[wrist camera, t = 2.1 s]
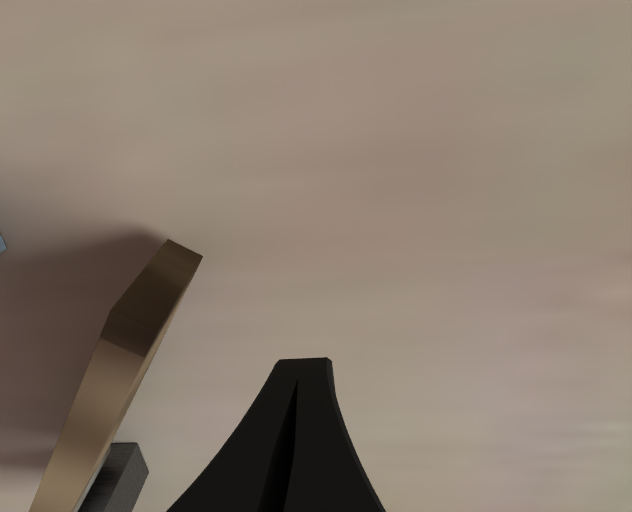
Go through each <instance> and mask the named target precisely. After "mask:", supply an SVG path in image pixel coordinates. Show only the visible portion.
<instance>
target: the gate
mask: <svg viewBox="0 0 632 512" xmlns="http://www.w3.org/2000/svg"><path fill="white" fill-rule="evenodd" d="M202 257H203V256H202V255H199V254H197V253H195V252H193V251H191V250H189V249H187V248H185V247H183V246H181V245H179V244H177V243H175V242H173V241H171V240H169V239H168V240H167V241H166V243H165V244H164V245H163V246H162V247H161V249H160V250H159V251H158V252H157V254H156V255H155V256H154V257H153V259H152V260H151V261H150V262H149V264H148V265H147V266H146V267H145V268H144V270H143V271H142V272H141V273H140V275H139V276H138V277H137V278H136V280H135V281H134V282H133V283H132V285H131V286H130V287H129V288H128V289H127V291H126V292H125V293H124V294H123V296H122V297H121V298H120V299H119V301H118V302H117V303H116V304H115V306H114V307H113V308H112V309H111V311H110V313H109V316H108V318H107V321H106V323H105V325H104V328H103V330H102V333H101V335H100V338H99V340H98V343H97V345H96V348H95V350H94V353H93V355H92V357H91V360H90V362H89V365H88V367H87V370H86V372H85V375H84V377H83V380H82V382H81V384H80V387H79V389H78V392H77V394H76V397H75V399H74V402H73V404H72V407H71V409H70V412H69V414H68V416H67V419H66V421H65V424H64V426H63V429H62V431H61V434H60V436H59V439H58V441H57V443H56V446H55V448H54V451H53V453H52V456H51V458H50V461H49V463H48V466H47V468H46V471H45V473H44V475H43V478H42V480H41V483H40V485H39V488H38V490H37V493H36V495H35V498H34V500H33V502H32V505H31V507H30V510H29V512H78V510H79V508H80V506H81V504H82V502H83V501H84V499H85V497H86V495H87V493H88V491H89V490H90V488H91V486H92V484H93V482H94V480H95V479H96V477H97V475H98V473H99V471H100V469H101V468H102V466H103V464H104V462H105V460H106V458H107V457H108V455H109V453H110V451H111V446H110V444H111V442H112V440H113V438H114V436H115V434H116V432H117V430H118V428H119V426H120V424H121V422H122V420H123V418H124V416H125V414H126V412H127V410H128V408H129V406H130V404H131V402H132V400H133V398H134V396H135V394H136V392H137V389H138V387H139V385H140V383H141V381H142V379H143V377H144V375H145V373H146V371H147V369H148V367H149V365H150V363H151V361H152V359H153V357H154V355H155V353H156V351H157V349H158V347H159V345H160V343H161V341H162V339H163V337H164V335H165V333H166V331H167V329H168V327H169V324H170V322H171V320H172V318H173V316H174V314H175V312H176V310H177V308H178V306H179V304H180V302H181V300H182V298H183V296H184V294H185V292H186V290H187V288H188V286H189V284H190V282H191V280H192V278H193V276H194V274H195V272H196V270H197V268H198V266H199V264H200V262H201V259H202Z"/></svg>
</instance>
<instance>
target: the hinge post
mask: <svg viewBox="0 0 632 512" xmlns="http://www.w3.org/2000/svg"><path fill="white" fill-rule="evenodd" d="M110 446H111V451H110V453H109V455H108V457H107V458H106V460H105V462H104V464H103V466H102V468H101V469H100V471H99V473H98V475H97V477H96V479H95V480H94V482H93V484H92V486H91V488H90V490H89V491H88V493H87V495H86V497H85V499H84V501H83V502H82V504H81V506H80V508H79V510H78V512H132V510H133V508H134V506H135V503H136V501H137V499H138V496H139V494H140V492H141V490H142V487H143V485H144V483H145V480H146V478H147V476H148V473H149V471H148V468H147V466H146V463H145V461H144V458H143V456H142V454H141V451H140V449H139V446H138V444H137V443H125V444H110Z"/></svg>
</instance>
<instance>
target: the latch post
mask: <svg viewBox="0 0 632 512" xmlns="http://www.w3.org/2000/svg"><path fill="white" fill-rule="evenodd" d="M5 249H7V248H6V246H5V244H4V241H3V239H2V237H1V235H0V253H1V252H2V251H4V250H5Z"/></svg>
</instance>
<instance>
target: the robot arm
mask: <svg viewBox="0 0 632 512" xmlns="http://www.w3.org/2000/svg"><path fill="white" fill-rule="evenodd" d="M166 512H386V511H385V509H384V507H383V506H382V504H381V502H380V500H379V498H378V496H377V494H376V493H375V491H374V489H373V487H372V485H371V483H370V481H369V479H368V477H367V475H366V473H365V471H364V469H363V467H362V465H361V462H360V460H359V458H358V456H357V453H356V451H355V449H354V446H353V444H352V441H351V439H350V437H349V434H348V431H347V429H346V426H345V423H344V420H343V417H342V414H341V411H340V408H339V405H338V402H337V398H336V393H335V384H334V376H333V367H332V361H331V360H330V359H328V358H327V357H324V358H303V359H281V360H279V361H278V362H277V363H276V364H275V366H274V368H273V370H272V372H271V373H270V375H269V377H268V379H267V381H266V382H265V384H264V386H263V387H262V389H261V391H260V392H259V394H258V396H257V397H256V399H255V400H254V402H253V404H252V405H251V407H250V408H249V410H248V411H247V413H246V414H245V416H244V417H243V419H242V420H241V422H240V423H239V425H238V426H237V428H236V429H235V430H234V432H233V433H232V434H231V436H230V437H229V438H228V440H227V441H226V442H225V444H224V445H223V447H222V448H221V449H220V451H219V452H218V453H217V455H216V456H215V457H214V458H213V460H212V461H211V462H210V463H209V465H208V466H207V467H206V468H205V469H204V471H203V472H202V473H201V474H200V475H199V476H198V477H197V479H196V480H195V481H194V482H193V483H192V484H191V486H190V487H189V488H188V489H187V490H186V491H185V492H184V493H183V494H182V495H181V496H180V497H179V498H178V499H177V501H176V502H175V503H174V504H173V505H172V506H171V507H170V508H169V509H168V510H167V511H166Z"/></svg>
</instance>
